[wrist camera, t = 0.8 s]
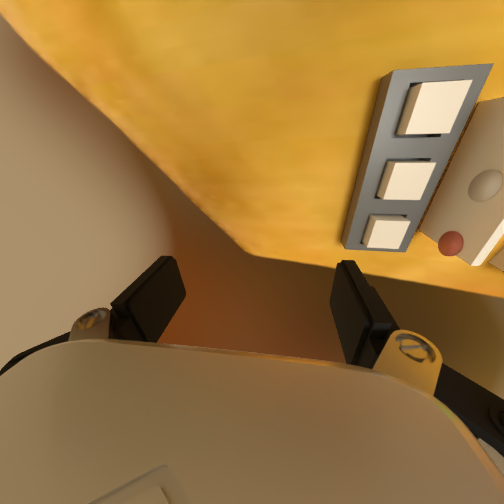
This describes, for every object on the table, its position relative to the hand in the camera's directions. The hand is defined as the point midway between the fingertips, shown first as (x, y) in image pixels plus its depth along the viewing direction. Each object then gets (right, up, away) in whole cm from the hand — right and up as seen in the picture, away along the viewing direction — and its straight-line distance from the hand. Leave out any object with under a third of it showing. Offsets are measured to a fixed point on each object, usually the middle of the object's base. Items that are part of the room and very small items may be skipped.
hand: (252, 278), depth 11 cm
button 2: (+22, +6, +21) cm, 31 cm away
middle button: (+22, +13, +17) cm, 30 cm away
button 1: (+22, +19, +13) cm, 32 cm away
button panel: (+24, +14, +19) cm, 33 cm away
